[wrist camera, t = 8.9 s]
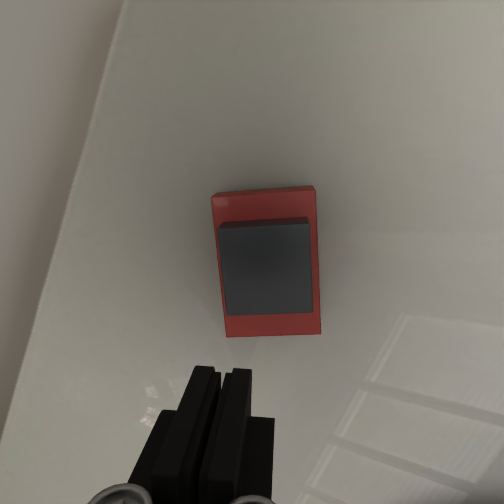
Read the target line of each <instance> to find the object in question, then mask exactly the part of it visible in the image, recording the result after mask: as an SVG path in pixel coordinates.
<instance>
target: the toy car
mask: <svg viewBox="0 0 504 504" xmlns="http://www.w3.org/2000/svg"><path fill="white" fill-rule="evenodd" d="M211 202H212V212H213V221H214V230H215V239H216V248H217V257H218V266H219V275H220V285H221V294H222V303H223V312H224V321H225V330H226V337H254V336H283V335H313V334H321V317H320V290H319V263H318V237H317V210H316V190H315V188H314V187H313V186H303V187H289V188H276V189H262V190H248V191H234V192H220V193H216V194H215V195H213V196H212V197H211Z"/></svg>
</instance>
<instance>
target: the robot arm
mask: <svg viewBox="0 0 504 504" xmlns="http://www.w3.org/2000/svg"><path fill="white" fill-rule="evenodd" d="M251 389H252V369H240V368H233V371H232V373H226V374H225V378H224V381H223V385H222V389H221V372H215V368H214V367H211V366H195V368H194V370H193V372H192V375H191V377H190V380H189V382H188V385H187V387H186V389H185V392H184V394H183V397H182V399H181V402H180V404H179V406H178V409H177V411H176V410H162V411H161V413H160V414H159V416H158V419H157V421H156V423H155V425H154V427H153V429H152V431H151V433H150V436H149V438H148V440H147V442H146V444H145V446H144V448H143V450H142V453H141V455H140V457H139V459H138V461H137V463H136V465H135V468H134V470H133V472H132V474H131V476H130V478H129V480H128V482H127V483H123V484H117V485H113V486H111V487H108V488H106V489H104V490H102V491H101V492H99V493H98V494H97V495H95V496H94V497H93V498H92V499H91V500H90V501H89V502H88V504H275V503H274V502H273V501H272V500H271V495H272V471H273V447H274V423H275V418H265V417H253V416H251Z"/></svg>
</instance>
